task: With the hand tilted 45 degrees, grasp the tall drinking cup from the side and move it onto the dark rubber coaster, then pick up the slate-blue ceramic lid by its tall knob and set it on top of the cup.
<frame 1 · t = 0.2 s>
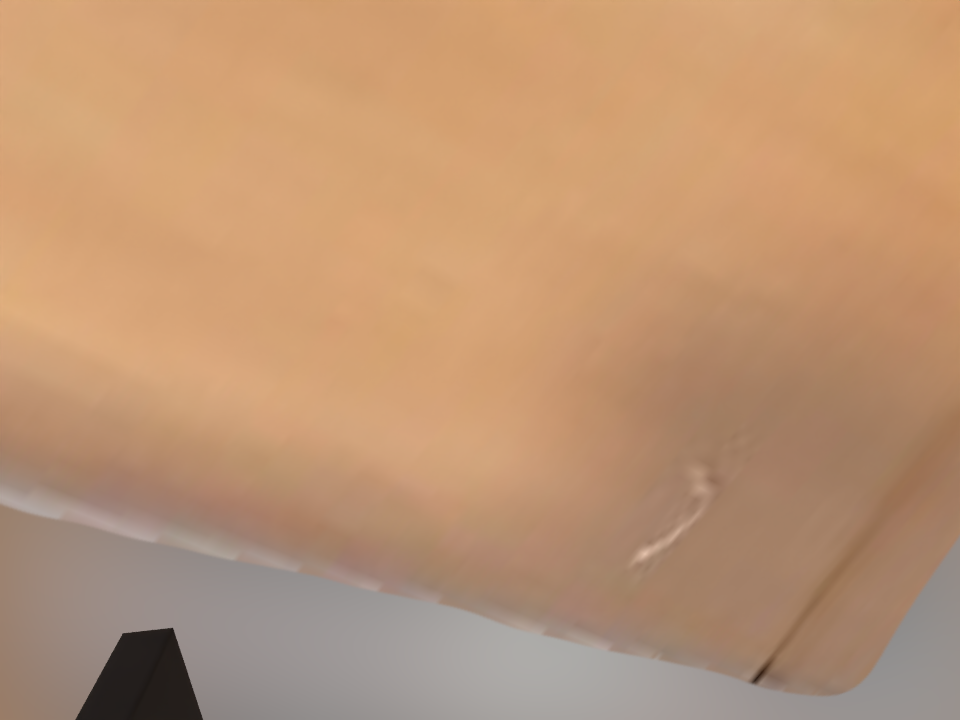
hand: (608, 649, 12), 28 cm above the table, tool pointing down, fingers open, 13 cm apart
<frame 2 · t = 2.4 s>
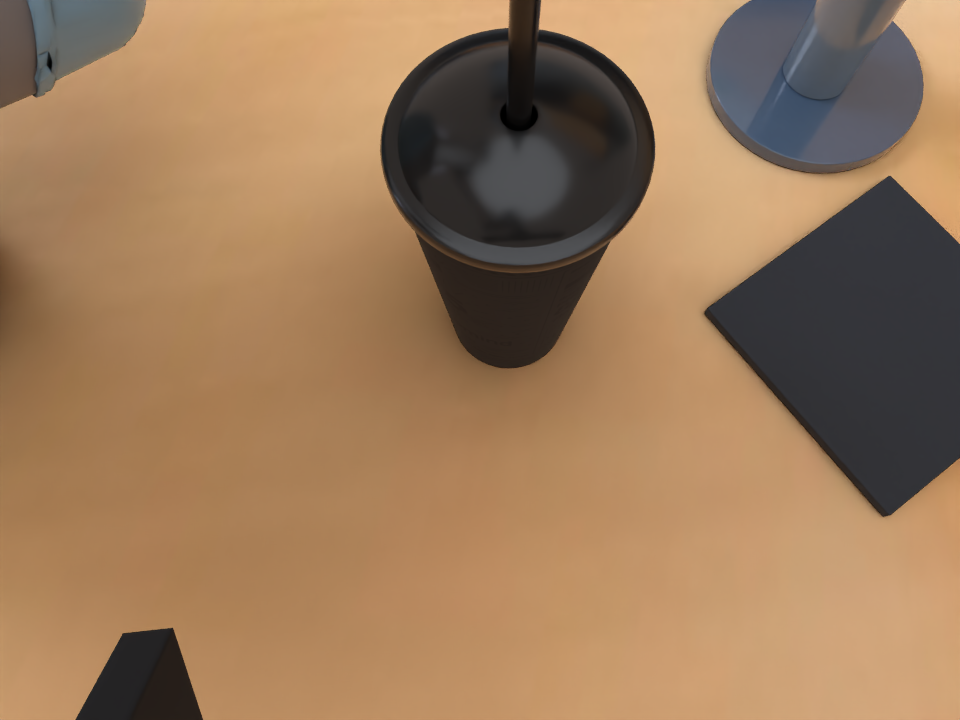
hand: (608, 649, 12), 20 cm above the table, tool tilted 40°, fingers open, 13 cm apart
lid: (809, 82, 38), on the table
coaster: (883, 338, 34), on the table
drinking cup: (507, 317, 35), on the table
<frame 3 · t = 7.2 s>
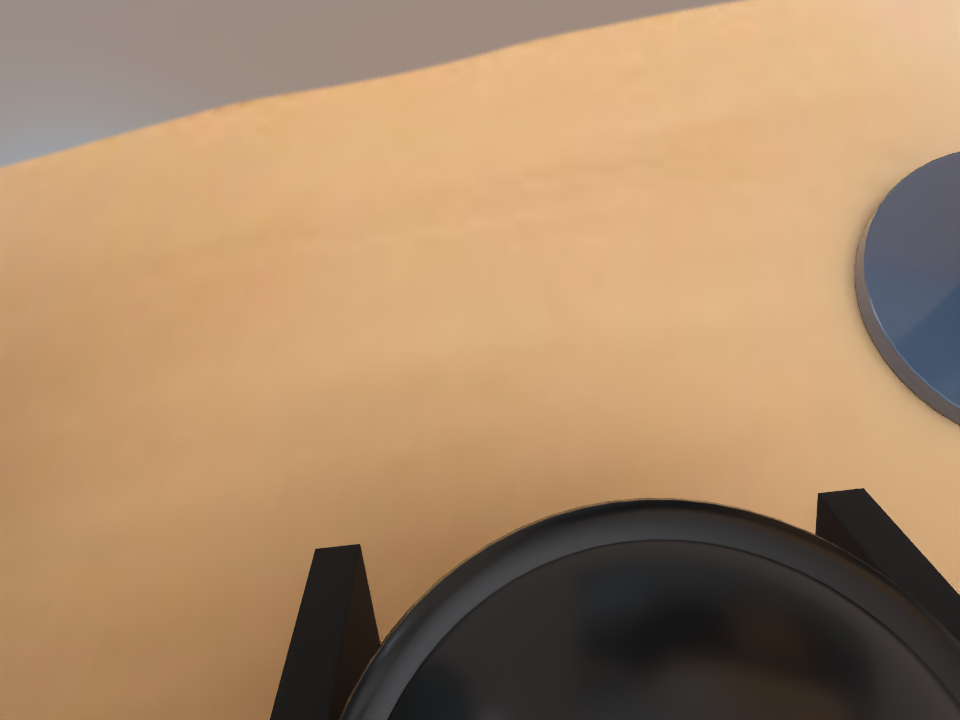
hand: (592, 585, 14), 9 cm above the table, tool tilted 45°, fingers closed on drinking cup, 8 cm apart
when the fingers open (9 cm above the table, at t = 15.6 s): drinking cup stays where it is, resting on coaster.
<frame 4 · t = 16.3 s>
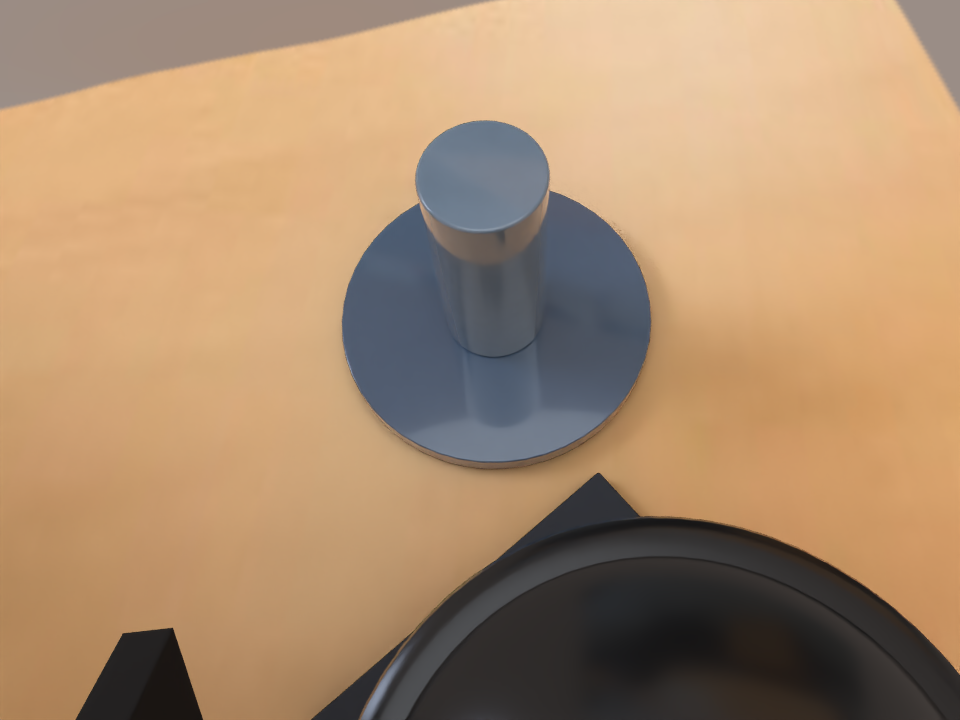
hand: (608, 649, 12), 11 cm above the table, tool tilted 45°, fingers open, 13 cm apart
lid: (495, 322, 26), on the table
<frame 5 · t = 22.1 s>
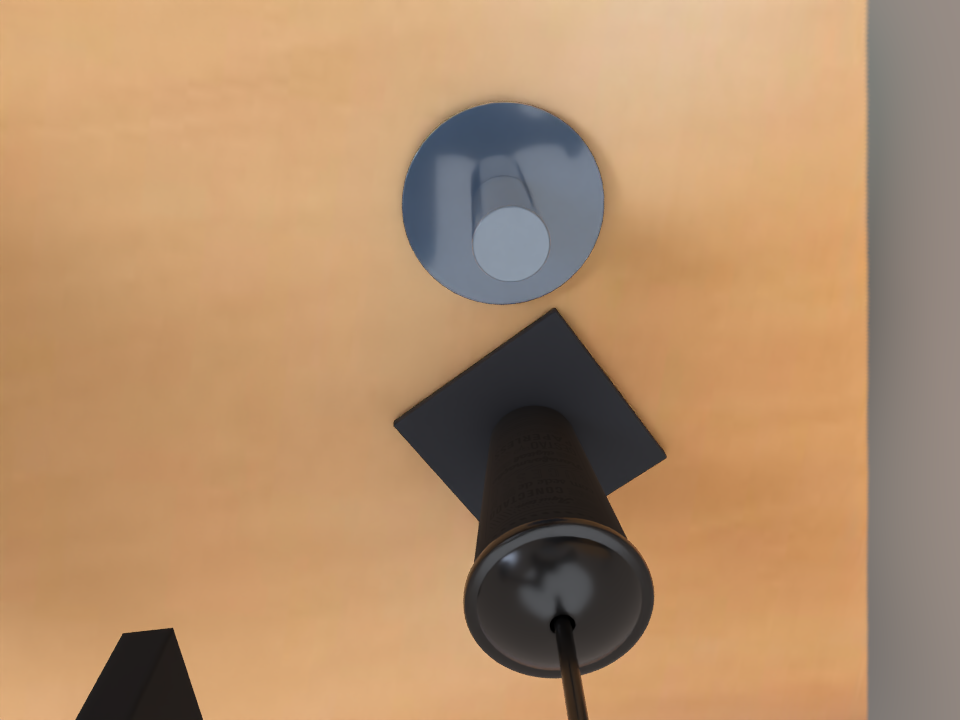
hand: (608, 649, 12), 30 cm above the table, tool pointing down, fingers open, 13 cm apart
lid: (502, 205, 40), on the table
coaster: (530, 436, 45), on the table
drinking cup: (532, 441, 44), resting on coaster
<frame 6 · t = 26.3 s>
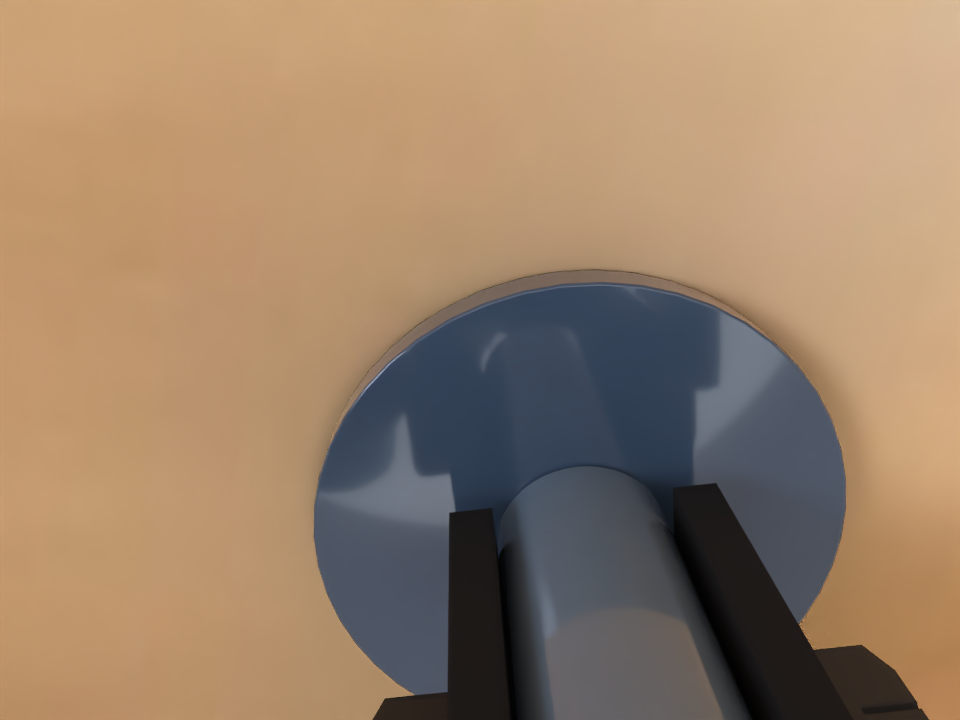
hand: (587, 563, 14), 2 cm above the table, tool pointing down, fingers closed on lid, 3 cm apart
lid: (575, 514, 16), on the table, touching gripper
when the fingers open (22 cm above the table, at t = 32.0 s): lid stays where it is, resting on drinking cup.
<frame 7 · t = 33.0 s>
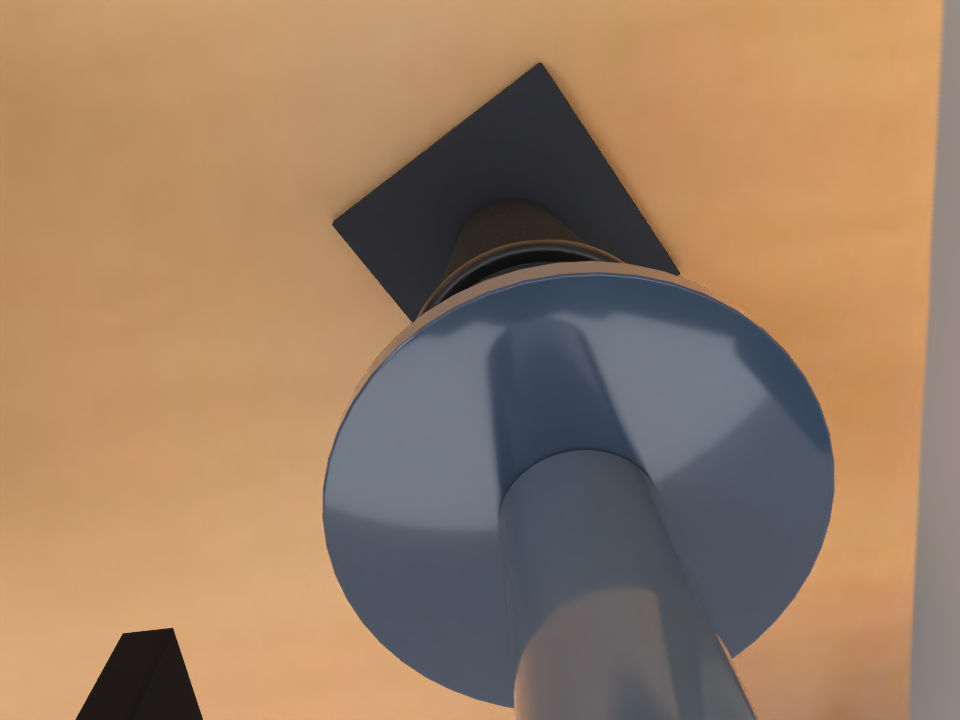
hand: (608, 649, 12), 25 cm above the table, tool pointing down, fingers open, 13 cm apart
lid: (573, 497, 16), point 21 cm above the table, touching drinking cup
coaster: (508, 246, 35), on the table
drinking cup: (509, 250, 35), resting on coaster, touching lid
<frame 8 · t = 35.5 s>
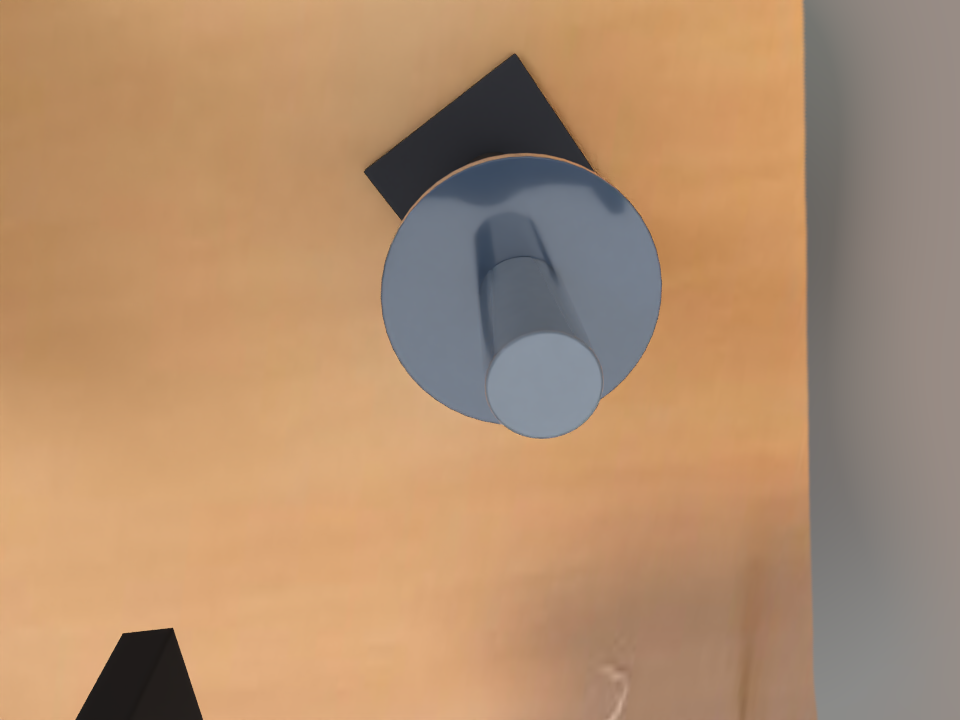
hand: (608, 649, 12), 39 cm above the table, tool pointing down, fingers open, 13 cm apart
lid: (520, 293, 29), point 21 cm above the table, touching drinking cup
coaster: (493, 189, 48), on the table
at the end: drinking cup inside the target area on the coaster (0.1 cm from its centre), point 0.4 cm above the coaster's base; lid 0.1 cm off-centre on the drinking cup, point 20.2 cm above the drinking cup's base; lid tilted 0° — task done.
